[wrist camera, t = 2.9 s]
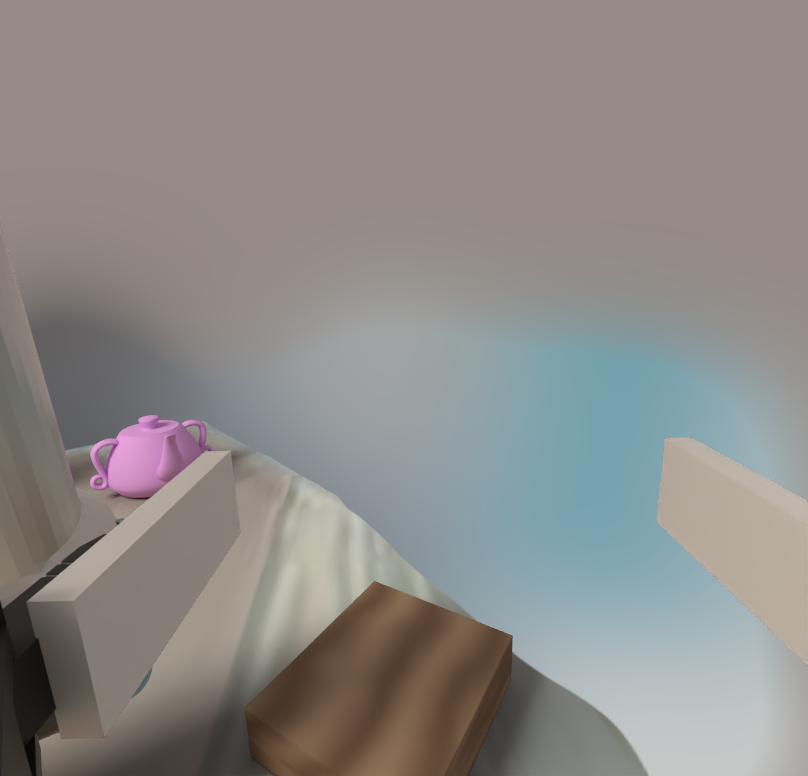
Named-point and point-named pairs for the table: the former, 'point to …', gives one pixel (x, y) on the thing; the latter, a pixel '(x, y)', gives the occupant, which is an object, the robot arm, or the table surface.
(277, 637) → the table surface
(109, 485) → the teapot
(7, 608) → the robot arm
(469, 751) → the walnut block
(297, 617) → the table surface
